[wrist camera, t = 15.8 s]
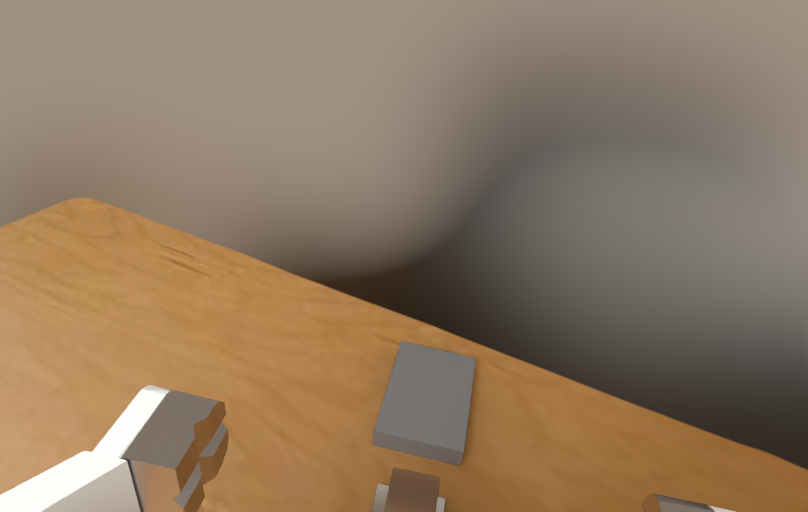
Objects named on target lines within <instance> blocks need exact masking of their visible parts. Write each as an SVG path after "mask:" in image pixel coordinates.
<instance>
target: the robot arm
mask: <svg viewBox="0 0 808 512" xmlns="http://www.w3.org/2000/svg"><path fill="white" fill-rule="evenodd" d="M225 415H226V410H225V403H224V402H221V401H217V400H213V399H208V398H204V397H200V396H196V395H192V394H188V393H184V392H180V391H175V390H171V389H167V388H162V387H158V386H153V385H148V386H146V387H145V388H143V389H142V390H140V392H139V393H138V394H137V395H136V397H135V398H134V399H133V400H132V402H131V403H130V404H129V406H128V407H127V408H126V409H125V411H124V412H123V413H122V414H121V416H120V417H119V418H118V419H117V421H116V422H115V423H114V425H113V426H112V427H111V428H110V430H109V431H108V432H107V433H106V435H105V436H104V437H103V438H102V440H101V441H100V442H99V444H98V445H97V446H96V447H95V449H94V450H93V451H92V452H90V451H85V450H84V451H82V452H81V453H79V454H77V455H75V456H73V457H71V458H69V459H67V460H65V461H64V462H62V463H60V464H58V465H56V466H54V467H52V468H50V469H48V470H47V471H45V472H43V473H41V474H39V475H37V476H35V477H33V478H31V479H30V480H28V481H26V482H24V483H22V484H20V485H18V486H16V487H14V488H13V489H11V490H9V491H7V492H5V493H3V494H1V495H0V512H197V511H198V509H199V507H200V505H201V503H202V501H203V499H204V498H205V497H204V490H203V485H204V484H205V483H207V482H208V481H210V480H211V479H213V478H214V477H216V475H217V473H218V471H219V469H220V467H221V465H222V463H223V460H224V457H225V454H226V451H227V446H228V429H227V428H226V427H225V425H224V424H223V423H222V420H223V419H224V417H225ZM642 508H643V512H736V511H732V510H727V509H722V508H718V507H713V506H707V505H706V504H702V503H697V502H692V501H687V500H682V499H677V498H672V497H667V496H662V495H657V494H650V495H648V496H647V497H646V498H645V500H644V502H643V503H642Z"/></svg>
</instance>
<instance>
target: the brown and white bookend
mask: <svg viewBox="0 0 808 512" xmlns="http://www.w3.org/2000/svg"><path fill="white" fill-rule="evenodd" d="M439 483H440V477H437V476H432V475H427V474H423V473H418V472H413V471H409V470H404V469H399V468H395V467H393V471H392V476H391V480H390V485H389V486H386V485H382V484H378V486H377V491H376V495H375V499H374V503H373V508H372V512H444V505H445V498H442V497H438V491H439Z"/></svg>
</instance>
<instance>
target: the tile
mask: <svg viewBox="0 0 808 512" xmlns="http://www.w3.org/2000/svg"><path fill="white" fill-rule="evenodd" d="M475 362H476V358H474V357H470V356H465V355H461V354H456V353H451V352H447V351H442V350H438V349H433V348H429V347H424V346H420V345H415V344H411V343H406V342H402V341H401V344H400V348H399V351H398V354H397V357H396V361H395V364H394V367H393V370H392V374H391V377H390V380H389V384H388V387H387V390H386V393H385V397H384V400H383V403H382V406H381V410H380V413H379V416H378V419H377V423H376V426H375V429H374V435H373V444H372V445H375V446H379V447H383V448H387V449H392V450H396V451H400V452H404V453H408V454H412V455H417V456H421V457H425V458H429V459H433V460H438V461H442V462H446V463H450V464H454V465H458V466H460V465H461V461H462V458H463V454H464V448H465V440H466V432H467V424H468V416H469V409H470V401H471V393H472V385H473V377H474V369H475Z"/></svg>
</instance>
